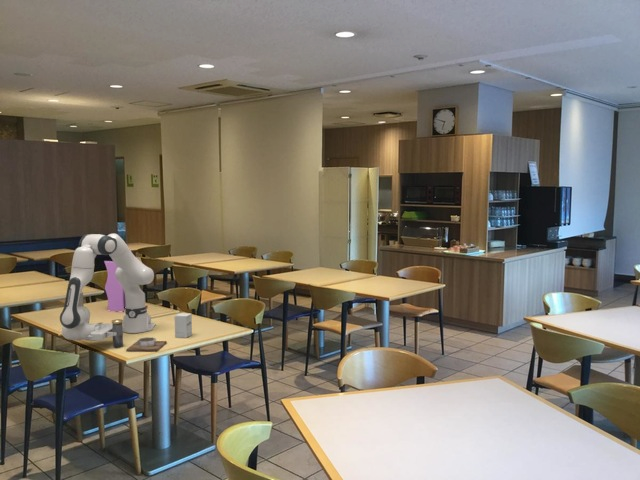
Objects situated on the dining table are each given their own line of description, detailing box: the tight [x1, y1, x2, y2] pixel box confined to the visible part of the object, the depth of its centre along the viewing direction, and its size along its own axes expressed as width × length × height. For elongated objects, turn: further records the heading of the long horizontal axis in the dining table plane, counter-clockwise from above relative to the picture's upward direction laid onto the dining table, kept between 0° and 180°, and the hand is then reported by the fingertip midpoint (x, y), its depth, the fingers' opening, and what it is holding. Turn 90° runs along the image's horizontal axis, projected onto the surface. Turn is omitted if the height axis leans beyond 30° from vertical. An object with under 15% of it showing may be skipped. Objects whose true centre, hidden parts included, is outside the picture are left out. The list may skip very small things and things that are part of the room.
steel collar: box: [136, 336, 157, 347], centre depth 290 cm, size 9×9×3 cm
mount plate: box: [125, 340, 168, 353], centre depth 290 cm, size 16×16×1 cm
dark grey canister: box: [111, 318, 124, 349], centre depth 291 cm, size 6×6×14 cm
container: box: [103, 260, 126, 313], centre depth 382 cm, size 14×14×35 cm
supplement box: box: [174, 312, 193, 339], centre depth 312 cm, size 7×7×13 cm
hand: (119, 332), depth 291 cm, fingers closed on dark grey canister, 5 cm apart
